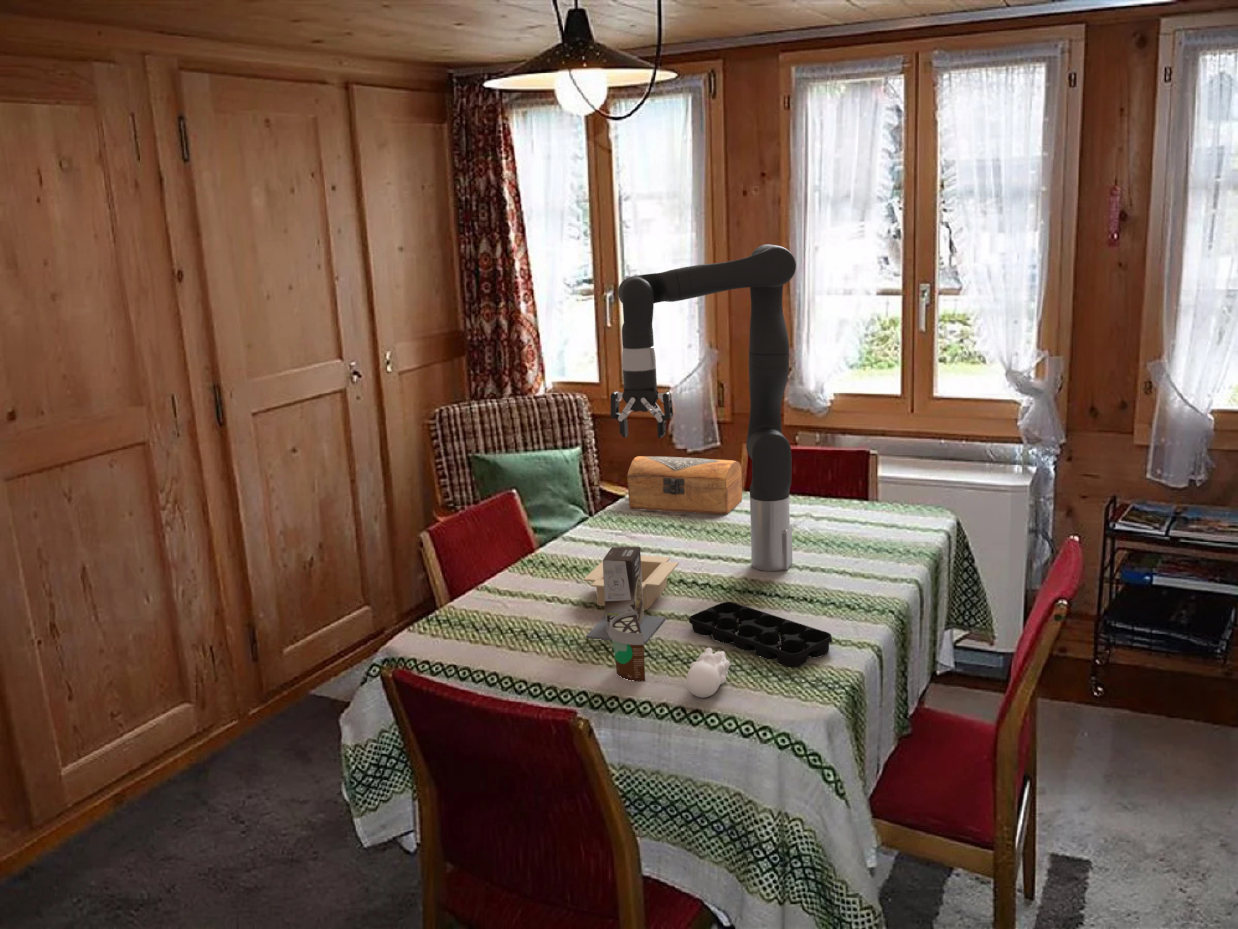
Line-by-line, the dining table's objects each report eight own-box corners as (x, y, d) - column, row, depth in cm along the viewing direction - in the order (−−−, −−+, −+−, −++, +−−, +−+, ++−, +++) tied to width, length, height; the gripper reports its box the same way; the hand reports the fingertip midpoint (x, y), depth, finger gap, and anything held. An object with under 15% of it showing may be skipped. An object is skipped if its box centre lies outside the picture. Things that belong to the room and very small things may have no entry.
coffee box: (636, 635, 220) (632, 560, 216) (605, 634, 222) (601, 559, 218) (645, 618, 229) (641, 546, 225) (615, 617, 230) (611, 545, 226)
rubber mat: (665, 620, 229) (665, 617, 229) (645, 644, 217) (645, 641, 217) (608, 615, 233) (608, 612, 233) (586, 638, 222) (585, 635, 221)
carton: (683, 582, 250) (682, 558, 249) (655, 616, 231) (654, 589, 230) (612, 577, 256) (611, 553, 255) (580, 609, 237) (578, 583, 236)
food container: (608, 660, 211) (605, 612, 208) (639, 657, 211) (636, 609, 209) (613, 687, 199) (610, 637, 197) (646, 684, 199) (643, 634, 197)
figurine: (671, 686, 192) (692, 654, 203) (697, 713, 192) (717, 680, 203) (697, 665, 189) (716, 634, 200) (723, 692, 189) (742, 660, 199)
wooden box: (626, 510, 310) (623, 463, 307) (647, 495, 325) (645, 450, 322) (726, 517, 299) (724, 469, 295) (743, 501, 313) (741, 454, 310)
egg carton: (806, 675, 200) (806, 656, 200) (672, 643, 218) (671, 626, 217) (847, 642, 214) (846, 624, 213) (717, 614, 232) (716, 598, 231)
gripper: (674, 364, 243) (677, 434, 247) (615, 364, 248) (619, 432, 252) (664, 369, 236) (667, 441, 240) (603, 369, 241) (607, 440, 245)
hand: (642, 437), depth 246 cm, fingers open, 8 cm apart
